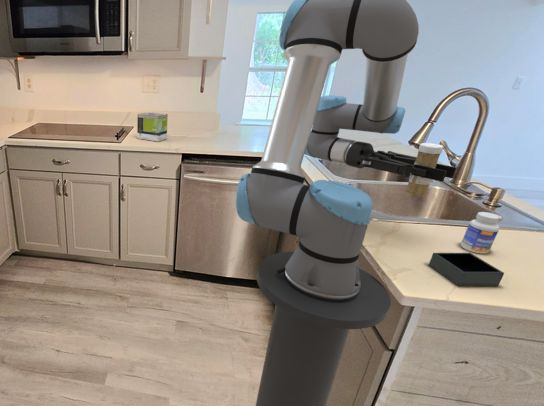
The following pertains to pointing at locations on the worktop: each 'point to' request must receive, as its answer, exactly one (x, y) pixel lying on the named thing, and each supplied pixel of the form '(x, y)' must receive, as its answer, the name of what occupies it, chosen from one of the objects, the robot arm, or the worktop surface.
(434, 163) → the sprinkles bottle
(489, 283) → the dark gray tray
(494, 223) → the pill bottle
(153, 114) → the tea box
